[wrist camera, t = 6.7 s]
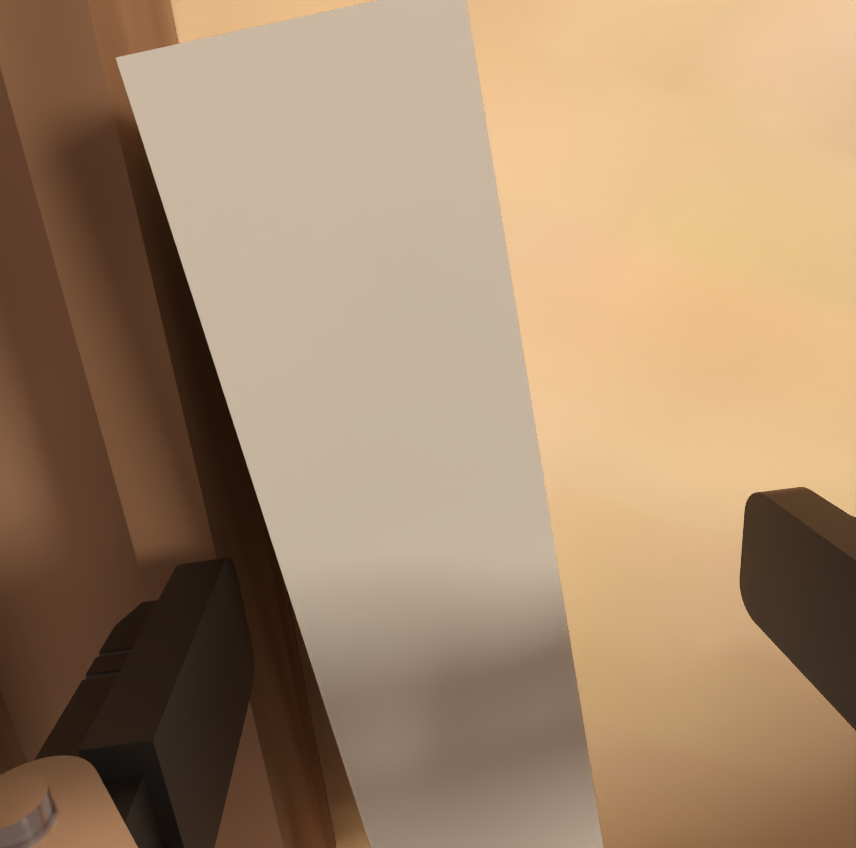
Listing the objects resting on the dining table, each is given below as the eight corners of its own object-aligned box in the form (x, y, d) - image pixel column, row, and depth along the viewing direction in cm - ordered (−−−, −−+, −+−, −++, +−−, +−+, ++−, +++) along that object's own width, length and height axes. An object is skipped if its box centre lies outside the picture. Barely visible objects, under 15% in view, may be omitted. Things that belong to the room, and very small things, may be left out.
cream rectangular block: (424, 88, 12) (463, -18, 6) (547, 747, 17) (630, 1012, 12) (239, 128, 12) (115, 57, 6) (418, 775, 17) (437, 1055, 12)
